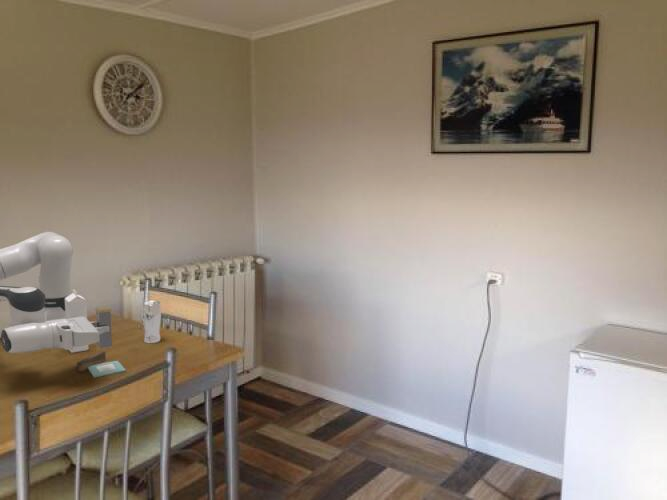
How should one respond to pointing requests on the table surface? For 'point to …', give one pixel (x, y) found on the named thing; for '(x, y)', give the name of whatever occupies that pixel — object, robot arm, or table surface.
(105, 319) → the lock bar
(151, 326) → the beer glass
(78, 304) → the milk
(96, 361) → the dark brown bar
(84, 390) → the table surface
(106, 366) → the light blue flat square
